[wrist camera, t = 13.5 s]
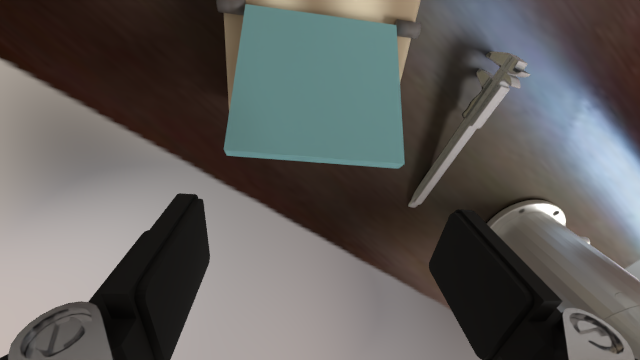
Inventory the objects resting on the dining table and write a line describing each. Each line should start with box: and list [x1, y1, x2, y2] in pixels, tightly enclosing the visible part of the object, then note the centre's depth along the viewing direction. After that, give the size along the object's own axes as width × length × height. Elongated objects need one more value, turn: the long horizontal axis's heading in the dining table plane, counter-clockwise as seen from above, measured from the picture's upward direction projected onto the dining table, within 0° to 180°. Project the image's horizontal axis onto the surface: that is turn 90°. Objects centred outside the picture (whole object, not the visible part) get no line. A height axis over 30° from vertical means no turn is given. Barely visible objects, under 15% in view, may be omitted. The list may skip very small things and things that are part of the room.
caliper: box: [408, 51, 530, 208], centre depth 30 cm, size 20×1×6 cm, turn 165°
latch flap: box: [224, 4, 405, 169], centre depth 19 cm, size 12×12×1 cm
